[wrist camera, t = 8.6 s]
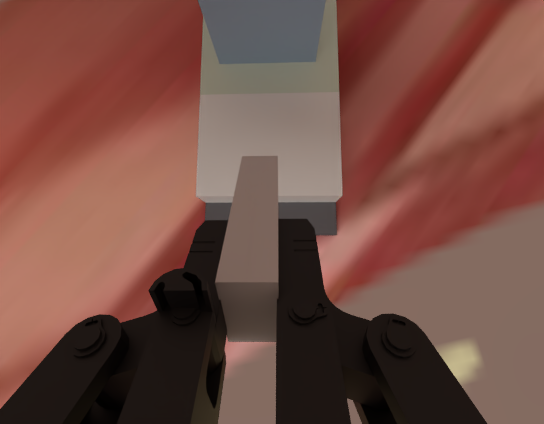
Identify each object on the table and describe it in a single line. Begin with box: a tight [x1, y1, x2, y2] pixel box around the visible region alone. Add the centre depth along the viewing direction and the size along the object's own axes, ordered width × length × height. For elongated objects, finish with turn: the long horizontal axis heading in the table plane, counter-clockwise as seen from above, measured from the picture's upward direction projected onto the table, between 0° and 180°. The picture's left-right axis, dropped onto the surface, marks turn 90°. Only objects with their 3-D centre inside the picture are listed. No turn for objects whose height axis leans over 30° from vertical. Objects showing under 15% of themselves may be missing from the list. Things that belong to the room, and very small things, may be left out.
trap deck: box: [196, 0, 343, 235], centre depth 22 cm, size 10×22×3 cm, turn 0°
